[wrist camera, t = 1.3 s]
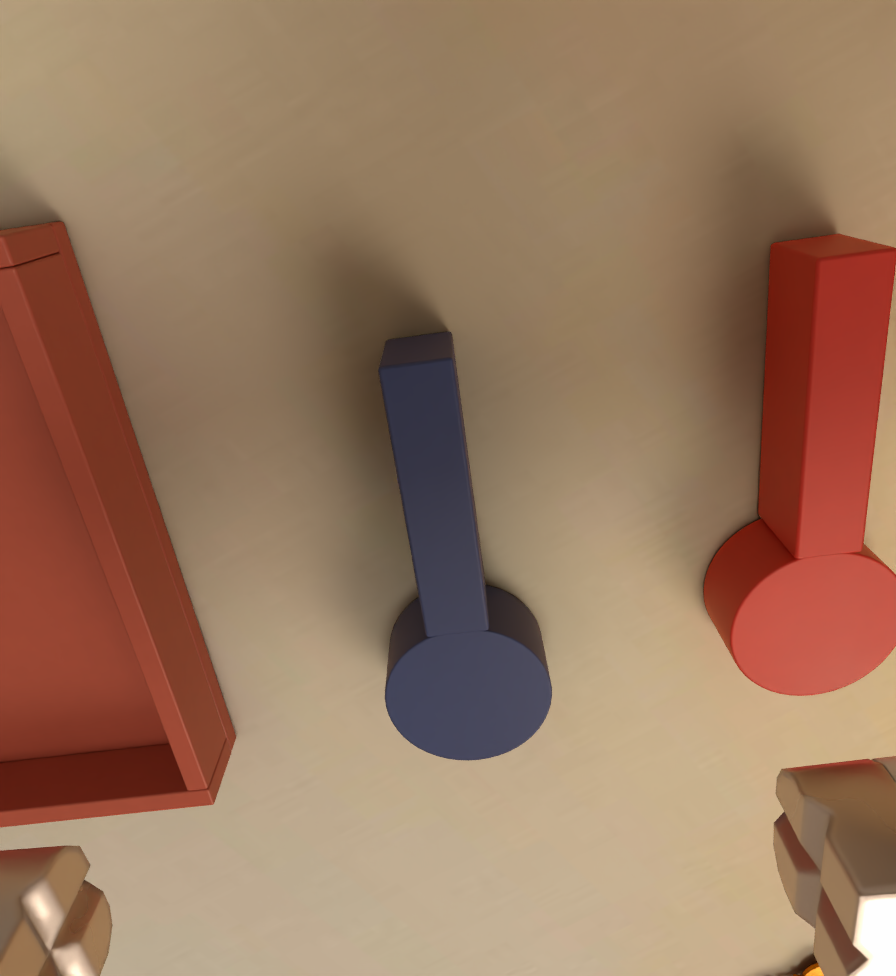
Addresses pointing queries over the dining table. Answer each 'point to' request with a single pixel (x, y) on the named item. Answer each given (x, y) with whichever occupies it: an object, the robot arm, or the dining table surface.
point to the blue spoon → (451, 580)
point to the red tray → (87, 575)
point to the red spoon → (814, 479)
